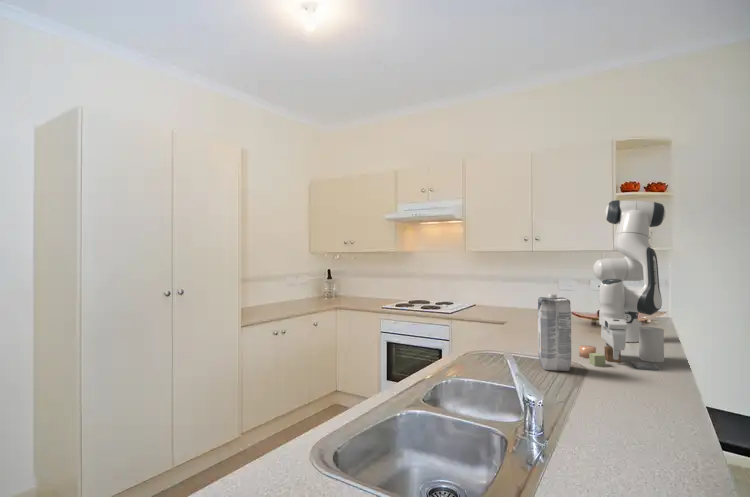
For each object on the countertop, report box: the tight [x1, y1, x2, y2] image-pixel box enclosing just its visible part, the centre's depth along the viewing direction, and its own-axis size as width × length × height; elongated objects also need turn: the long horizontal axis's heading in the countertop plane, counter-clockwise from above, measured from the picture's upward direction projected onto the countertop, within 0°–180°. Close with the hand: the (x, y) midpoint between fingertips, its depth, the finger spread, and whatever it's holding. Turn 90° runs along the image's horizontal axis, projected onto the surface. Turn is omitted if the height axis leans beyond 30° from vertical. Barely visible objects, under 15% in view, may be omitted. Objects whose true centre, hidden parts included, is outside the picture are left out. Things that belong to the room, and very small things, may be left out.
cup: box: [638, 326, 665, 363], centre depth 164 cm, size 8×8×12 cm
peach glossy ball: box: [578, 344, 597, 359], centre depth 169 cm, size 6×6×4 cm
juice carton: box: [537, 293, 572, 372], centre depth 153 cm, size 9×10×27 cm
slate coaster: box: [630, 361, 660, 371], centre depth 154 cm, size 7×7×1 cm
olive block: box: [588, 352, 606, 367], centre depth 157 cm, size 4×4×4 cm
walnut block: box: [603, 345, 622, 363], centre depth 163 cm, size 4×4×5 cm
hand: (612, 356), depth 163 cm, fingers open, 8 cm apart
